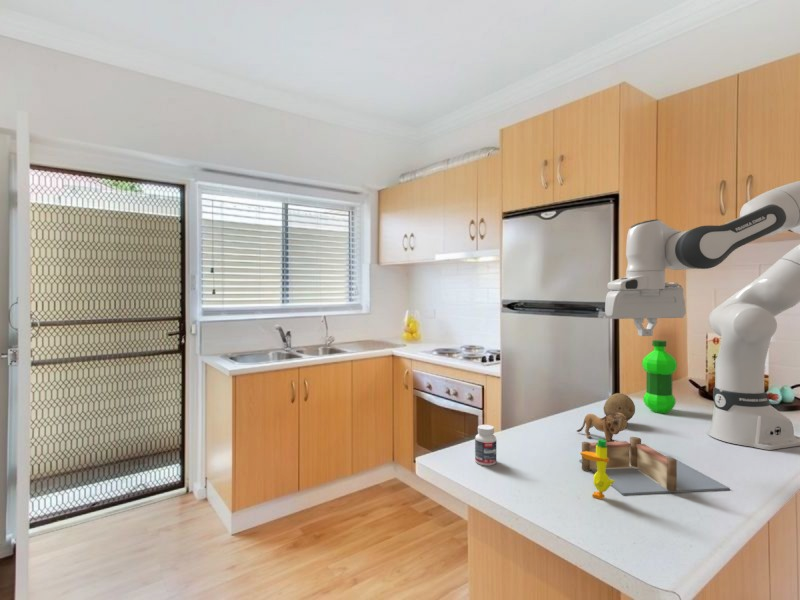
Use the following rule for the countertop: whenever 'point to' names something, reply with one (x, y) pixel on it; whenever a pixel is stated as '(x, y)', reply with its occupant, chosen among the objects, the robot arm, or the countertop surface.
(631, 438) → the fence section
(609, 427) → the lion figurine
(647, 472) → the fence panel
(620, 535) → the countertop surface
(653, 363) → the plastic bottle
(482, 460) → the pill bottle
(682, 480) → the board
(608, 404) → the natural sponge
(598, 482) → the toy figure
